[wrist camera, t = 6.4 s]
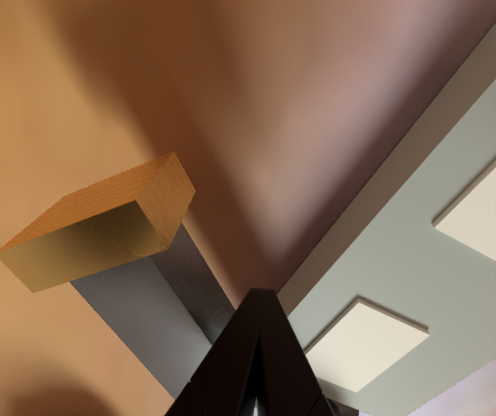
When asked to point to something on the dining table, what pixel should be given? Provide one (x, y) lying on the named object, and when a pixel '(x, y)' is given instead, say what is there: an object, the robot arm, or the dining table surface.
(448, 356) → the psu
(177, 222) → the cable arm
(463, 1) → the dining table surface
